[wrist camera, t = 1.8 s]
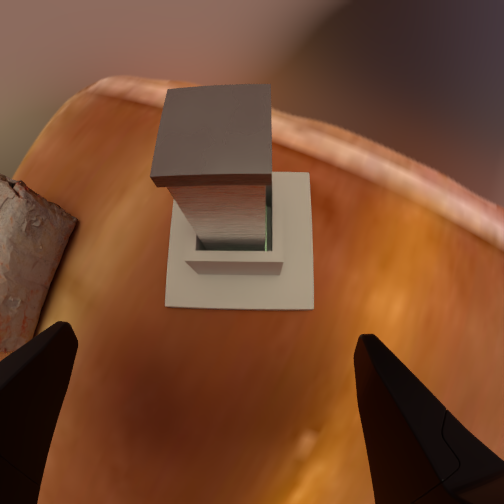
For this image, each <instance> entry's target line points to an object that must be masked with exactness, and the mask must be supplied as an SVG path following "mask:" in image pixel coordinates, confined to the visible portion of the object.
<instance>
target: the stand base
mask: <svg viewBox="0 0 504 504" xmlns="http://www.w3.org/2000/svg"><path fill="white" fill-rule="evenodd" d="M265 204H267V251H207V249H206V248H205V246H204V245H203V243H202V242H201V240H200V239H199V237H198V236H197V234H196V233H195V231H194V229H193V228H192V226H191V225H190V223H189V222H188V220H187V219H186V217H185V215H184V214H183V212H182V211H181V209H180V208H179V206H178V204H177V203H176V201H175V200H174V202H173V211H172V220H171V230H170V241H169V253H168V265H167V279H166V295H165V306H166V307H172V308H195V309H226V310H313V309H314V280H313V242H312V217H311V197H310V179H309V173H306V172H272V185H266V203H265Z"/></svg>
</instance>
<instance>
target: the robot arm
mask: <svg viewBox="0 0 504 504" xmlns="http://www.w3.org/2000/svg"><path fill="white" fill-rule="evenodd" d="M77 349H78V340H77V338H76V335H75V333H74V331H73V329H72V327H71V325H70V324H69V323H68V322H62V321H58V322H56V323H55V324H53V325H52V326H50V327H49V328H47V329H46V330H44V331H43V332H41V333H40V334H39V335H37V336H36V337H34V338H33V339H31V340H30V341H28V342H27V343H26V344H24V345H23V346H21V347H20V348H18V349H17V350H16V351H14V352H13V353H11V354H10V355H9V356H7V357H6V358H4V359H3V360H2V361H0V504H37V502H38V496H39V491H40V485H41V481H42V477H43V472H44V468H45V464H46V460H47V456H48V452H49V448H50V444H51V441H52V437H53V434H54V430H55V427H56V423H57V420H58V416H59V413H60V410H61V407H62V404H63V400H64V397H65V394H66V391H67V388H68V385H69V381H70V377H71V373H72V369H73V364H74V360H75V356H76V353H77ZM354 368H355V378H356V389H357V400H358V408H359V413H360V418H361V423H362V428H363V433H364V438H365V444H366V449H367V455H368V460H369V466H370V472H371V478H372V484H373V491H374V497H375V504H504V461H503V460H502V459H501V458H499V457H498V456H497V455H496V454H495V453H494V452H492V451H491V450H490V449H489V448H488V447H487V446H485V445H484V444H483V443H482V442H481V441H480V440H478V439H477V438H476V437H475V436H474V435H473V434H472V433H471V432H470V431H468V430H467V429H466V428H465V427H464V426H463V425H462V424H461V423H460V422H459V421H458V420H457V419H456V418H455V417H454V416H453V415H452V414H451V412H450V411H449V410H446V407H445V406H444V405H443V404H442V403H441V402H440V401H439V400H438V399H437V398H436V397H435V396H434V395H433V394H432V393H431V392H430V391H429V390H428V389H427V387H426V386H425V385H424V384H423V383H422V382H421V381H420V380H419V379H418V378H417V377H416V376H415V375H414V374H413V373H412V372H411V371H410V370H409V369H408V368H407V367H406V366H405V365H404V364H403V363H402V362H401V361H400V360H399V359H398V358H397V357H396V356H395V355H394V354H393V353H392V352H391V351H390V350H389V349H388V348H387V347H386V346H385V345H384V344H383V343H382V342H381V340H380V339H379V338H378V337H377V336H375V335H374V334H362V335H360V336H359V338H358V342H357V345H356V349H355V352H354Z"/></svg>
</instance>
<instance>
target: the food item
mask: <svg viewBox="0 0 504 504" xmlns="http://www.w3.org/2000/svg"><path fill="white" fill-rule="evenodd" d="M20 182H21V183H20ZM54 204H55V203H52V202H48V201H47V200H46V199H44V198H42V197H41V196H40V195H39V194H37V193H35V192H34V191H33V190H31V189H30V188H28V187H27V186H26V184H25V183H24V182H23V181H22V180H20V181H16V180H12V179H10V178H8V177H6V176H4V175H2V174H0V351H3V352H5V353H6V351H16V350H17V349H18V348H20V347H21V346H23V345H24V344H26V343H27V342H28V341H30V340H31V339H33V335H34V331H35V328H36V326H37V323H38V319H39V315H40V312H41V308H42V306H43V304H44V301H45V298H46V295H47V292H48V289H49V286H50V283H51V281H52V279H53V277H54V274H55V271H56V269H57V267H58V264H59V262H60V260H61V257H62V255H63V251H64V249H65V247H66V244H67V242H68V239H69V236H70V235H71V233H72V231H73V229H74V227H75V225H76V221H77V220H78V219H77V218H75V217H73V216H71V214H69V213H66V212H65V210H63V209H61V207H60V206H59V205H57V204H55V205H57V206H58V207H59V208H58V207H57V206H55V205H54Z"/></svg>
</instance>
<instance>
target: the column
mask: <svg viewBox="0 0 504 504" xmlns="http://www.w3.org/2000/svg"><path fill="white" fill-rule="evenodd" d="M150 177H151V179H152V180H153V182H154V183H155V185H156V186H157V187H167V189H168V190H169V192H170V193H171V195H172V197H173V198H174V200H175V201H176V203H177V204H178V206H179V208H180V209H181V211H182V212H183V214H184V215H185V217H186V219H187V220H188V222H189V223H190V225H191V226H192V228H193V229H194V231H195V233H196V234H197V236H198V237H199V239H200V240H201V242H202V243H203V245H204V246H205V248H206V249H207V251H267V204H265V203H266V185H272V131H271V84H241V85H215V86H199V87H187V88H176V89H168V90H167V94H166V98H165V103H164V107H163V112H162V116H161V121H160V126H159V131H158V135H157V141H156V146H155V151H154V156H153V162H152V168H151V174H150Z"/></svg>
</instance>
